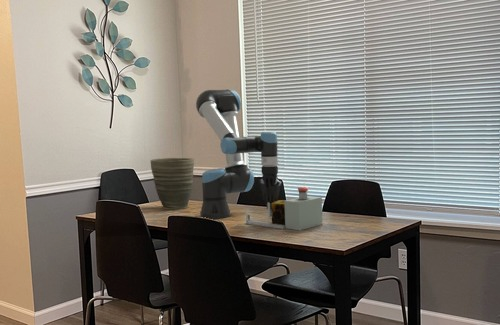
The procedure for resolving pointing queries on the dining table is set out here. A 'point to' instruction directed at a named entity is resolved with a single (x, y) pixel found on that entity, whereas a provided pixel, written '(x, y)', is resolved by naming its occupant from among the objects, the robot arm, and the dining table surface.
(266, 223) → the rail track
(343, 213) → the dining table surface
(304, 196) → the plunger
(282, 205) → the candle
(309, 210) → the gauge cabinet
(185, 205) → the vase
